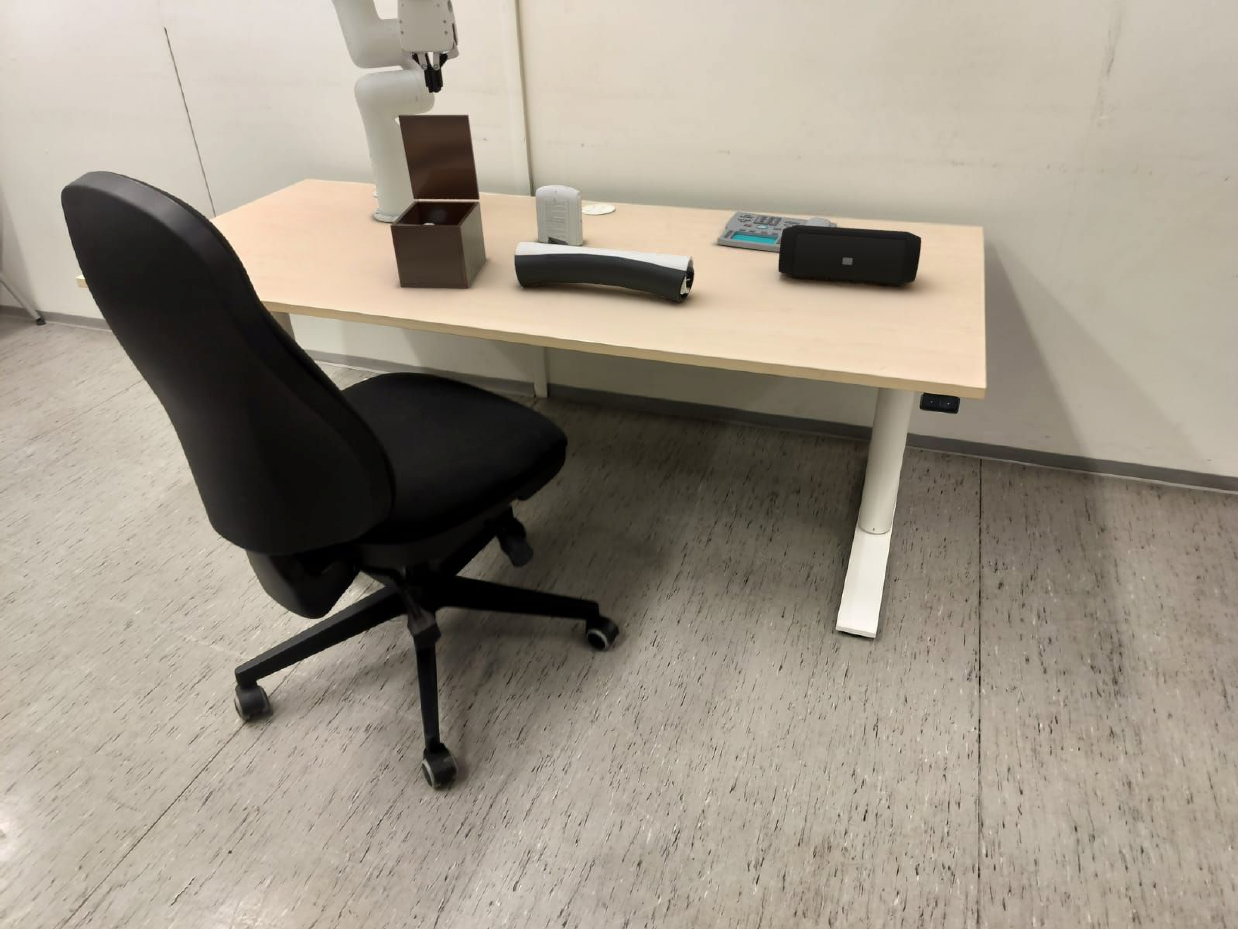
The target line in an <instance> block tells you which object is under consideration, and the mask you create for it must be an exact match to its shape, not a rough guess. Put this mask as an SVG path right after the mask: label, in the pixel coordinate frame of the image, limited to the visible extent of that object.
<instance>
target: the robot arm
mask: <svg viewBox="0 0 1238 929" xmlns="http://www.w3.org/2000/svg"><path fill="white" fill-rule="evenodd" d="M331 2H332V5H333V7H334V9H335V13H336V16H337V19H338V22H339V25H340V29H341V32H342V36H343V38H344V43H345V45H346V48H347V51H348V54H349V57H350V60H351V62H352V64H354V65H355V66H356V67H357V68H360V69H367V70H368V69H379V68H380V69H381V68H388V67H389V68H390V67H400V68H401V69H397V70H396V69H395V70H386V71H384V70H383V71H377V72H371V73H367V74H364V75H362V76H360V77H359V78H358V79H357V80H355V83H354V87H353V93H354V98H355V102H356V105H357V108H358V111H359V113H360V117H361V119H362V123H363V128H364V131H365V137H366V141H367V147H368V152H369V158H370V163H371V168H372V174H373V180H374V187H375V191H376V198H377V202H378V207H377V208H375V209H374V211H373V218H374V219H375V220H377V221H380V222H384V223H393V222H394V221H395V220H396V219H397V218H398V217H399V216H400V215H401V214H402V213H403V212H404V211H405V210H406V209H407V208H408V207H409V206H410V205H411V204H412V203H413V202H414V201H420V199H414V198H413V193H412V188H411V182H410V177H409V171H408V166H407V161H406V155H405V150H404V144H403V139H402V134H401V128H400V123H398V122H397V120H396V119H397V118H399V117H398V116H399V115H422V114H425V113H428V112H430V111H431V110H433V108H434V106H435V103H436V102H435V101H436V100H435V99H436V97H435V94H438V93H439V92H440V91H442V88H443V87H444V80H443V72H442V71H443V70H442V68H443V67H444V65H445V64H446V62H447V61H449V60H453V59H456V58H458V57H459V56H460V51H459V49H458V46H459V34H458V28H457V23H456V17H455V12H454V7H453V3H452V0H397V18H394V17H393V18H383V19H382V18H381V17H380V16H379V14H378V11H377V7H376V4H375V1H374V0H331ZM429 53H432V62H431V59H430V58H431V57H430V55H429Z"/></svg>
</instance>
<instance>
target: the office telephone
mask: <svg viewBox="0 0 1238 929" xmlns="http://www.w3.org/2000/svg"><path fill="white" fill-rule="evenodd" d="M795 225H808V226H824V227H838V223H836V222H831V220H829V219H828V218H825V217H817V216H815V217H811V218H809V219H805V218H795V217H786V216H779V215H769V214H760V213H754V212H745V211H736V212H735V213H734V214H733V215H732V216H731V218H730V219H729V220H728V221H727V222H726V223H725V228H724V229H725V230H724V232H723V233H722V234H721V235H720V236H719V237H717V238H716V245H721V246H729V247H736V248H745V249H753V250H760V251H768V252H775V253H776V252H777V253H779V252H780V243H781V237H782V232H783V229H785V228H788V227H791V226H795Z"/></svg>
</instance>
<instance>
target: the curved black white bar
mask: <svg viewBox="0 0 1238 929" xmlns="http://www.w3.org/2000/svg"><path fill="white" fill-rule="evenodd" d="M513 258H514V260H513V261H514V263H513V264H514V271H515V275H516V279H517V281H518V284H519V285H520V287H531V286H541V285H552V284H586V285H587V284H588V285H599V286H607V287H608V286H609V287H617V288H623V289H628V290H631V291H638V292H643V293H647V294H651V295H653V296H654V295H655V296H657V297H662V298H665V299H667V300H671V301H674V302H678V303H683V302H685V300H686V299H687V298H688V296H689V294H690V292H691V290H692V287H693V284H694V281H695V269H694V258H693V256H691V255H680V254H679V255H677V254H676V255H675V254H669V253H655V252H645V251H633V250H622V249H611V248H599V247H588V246H571V245H568V244H567V243H566V241H562V240H559V239H555V238H552V237H548V243H543V242H531V241H530V242H529V241H520V242H519V243H518V244H517V246H516V250H515V253H514V256H513Z"/></svg>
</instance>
